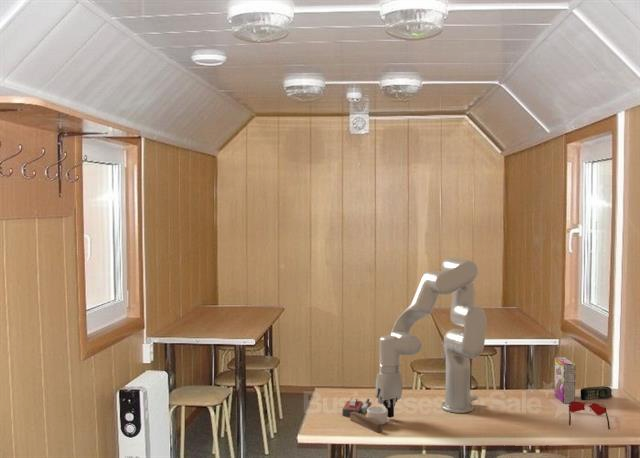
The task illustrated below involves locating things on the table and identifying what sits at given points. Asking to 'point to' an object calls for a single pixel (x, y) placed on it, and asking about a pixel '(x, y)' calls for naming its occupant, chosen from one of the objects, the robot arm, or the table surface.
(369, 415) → the teacup
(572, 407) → the glasses
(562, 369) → the candy bar box
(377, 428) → the stop bar
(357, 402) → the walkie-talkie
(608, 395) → the mobile phone
